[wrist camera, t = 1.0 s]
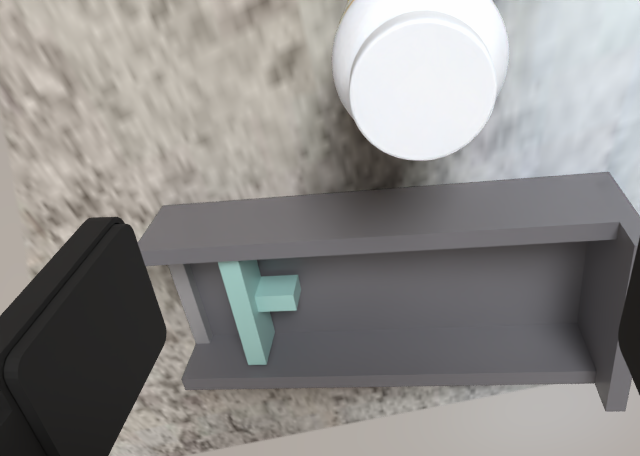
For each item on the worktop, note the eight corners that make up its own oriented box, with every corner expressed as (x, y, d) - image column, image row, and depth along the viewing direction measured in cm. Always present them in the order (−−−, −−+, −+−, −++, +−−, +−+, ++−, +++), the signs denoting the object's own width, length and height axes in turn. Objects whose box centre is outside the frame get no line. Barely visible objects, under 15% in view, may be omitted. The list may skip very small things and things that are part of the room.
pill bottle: (483, 70, 29) (528, 176, 19) (357, 88, 30) (339, 196, 20) (478, -73, 25) (530, -32, 16) (336, -46, 27) (303, 8, 17)
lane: (609, 172, 31) (658, 244, 25) (588, 323, 37) (625, 411, 31) (162, 205, 35) (116, 273, 29) (206, 336, 41) (175, 414, 35)
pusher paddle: (288, 227, 34) (279, 257, 31) (309, 330, 38) (303, 363, 35) (230, 231, 34) (217, 260, 32) (257, 332, 38) (248, 365, 36)
